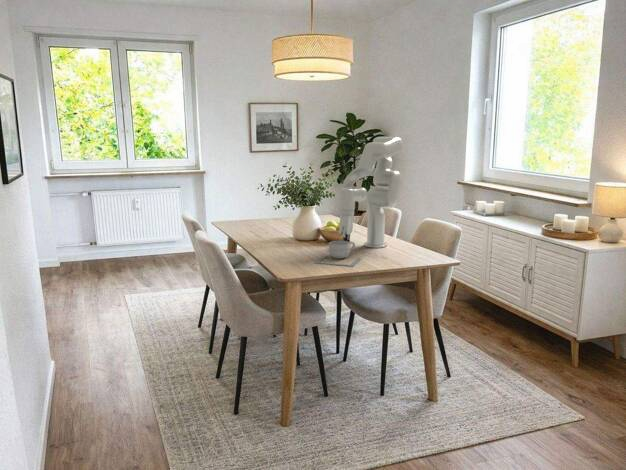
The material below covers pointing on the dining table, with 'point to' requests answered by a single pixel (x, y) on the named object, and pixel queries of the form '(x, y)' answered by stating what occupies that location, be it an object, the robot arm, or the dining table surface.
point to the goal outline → (337, 264)
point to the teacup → (340, 249)
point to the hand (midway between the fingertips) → (346, 247)
